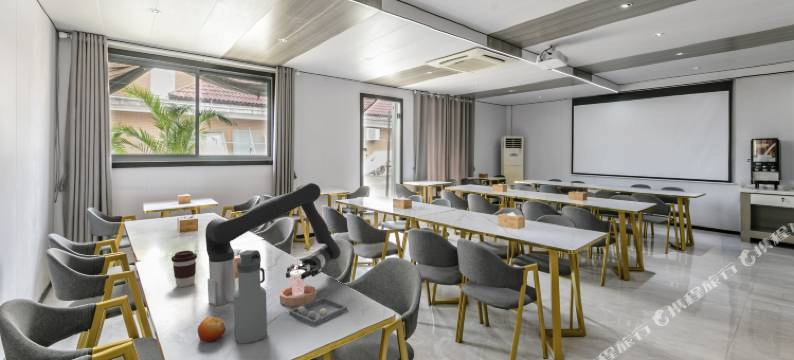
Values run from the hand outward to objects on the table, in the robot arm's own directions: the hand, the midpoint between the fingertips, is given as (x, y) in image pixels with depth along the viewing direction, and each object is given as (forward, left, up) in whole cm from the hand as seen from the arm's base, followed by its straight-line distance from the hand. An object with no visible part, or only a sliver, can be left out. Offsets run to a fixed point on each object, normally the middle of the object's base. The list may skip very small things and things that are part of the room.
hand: (294, 276), depth 146 cm
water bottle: (-26, -13, -10) cm, 31 cm away
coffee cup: (-20, +55, -10) cm, 59 cm away
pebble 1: (-6, -12, -10) cm, 17 cm away
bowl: (+2, +1, -10) cm, 10 cm away
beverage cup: (+2, +1, -8) cm, 9 cm away
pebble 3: (-2, -20, -10) cm, 23 cm away
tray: (-1, -16, -10) cm, 19 cm away
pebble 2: (-6, -18, -10) cm, 22 cm away
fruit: (-35, -5, -10) cm, 37 cm away
